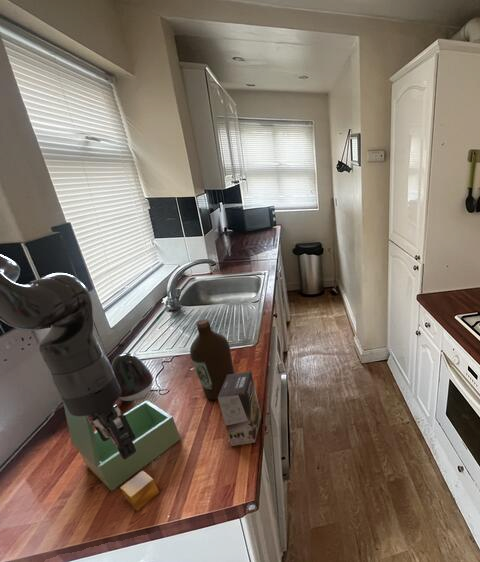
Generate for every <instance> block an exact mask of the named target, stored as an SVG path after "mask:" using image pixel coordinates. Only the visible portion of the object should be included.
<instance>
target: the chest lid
mask: <svg viewBox="0 0 480 562" xmlns="http://www.w3.org/2000/svg"><path fill="white" fill-rule="evenodd" d="M62 405H63V409H64V414H65V418H66V423H67V427H68V432H69V433H68V434H69V436H70V437H69V438H70V442H71V444H72V445H73V446H74V447H75V448H76V449H77V451H78V452H79V451H80V452H81V453H82V454H83V455H84V456H85V457H86V458H87V459H88V460H89V461H90V462H92V463H93V464H94V465H95V466H96V467H97V466H98V465H100V460H99V454H98V449H97V444H96V438H95V433H94V432H95V428H94V427H92V426H91V425H90V423H89V422H88V421H87V420H86V419H87V418H86V417H85V416H73V415H71V414H70V412H69V411H68V409H67V407H66V405H65V403H64V402H63V401H62ZM80 452H79V453H80Z"/></svg>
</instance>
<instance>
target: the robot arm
mask: <svg viewBox="0 0 480 562" xmlns="http://www.w3.org/2000/svg"><path fill="white" fill-rule="evenodd" d="M20 274H21V268H20V266H19V264H18V263H17V262H16V261H14V260H12V259H11V258H9V257H7V256H6V255H5V256H4V255H3V254H0V321H1V322H3V323H4V324H6V325H8V326H10V327H12V328H16V329H19V330H26V331H40V330H43V329H46V328H49V327H50V329H49V331H48V332H47V333H46V334H45V335H44V337H42V339H40V341H39V342H38V345H37V350H38V353H39V354H40V357H41V358H42V360H43V362H44V364H45V366H46V367H47V370H48V371H49V373H50V376H51V379H52V382H53V385H54V387H55V389H56V391H57V392H58V394H59V396H60V398H61V400H62V403H63V402H64V403H65V405H66V407H67V409H68V411H69V412H70V414H71V415H73V416H85V417H86V418H87V419H86V420H87V421H88V422H89V423H90V425H91V426H92V427H93V428H94V429H95V431H97V432H98V434H99V436H100V438H101V440H102V441H107V440H108V439H110V438H111V440H112V441H113V443H114V445H115V446H116V447H117V449H118V451H119V453H120V455H121V457H122V458H123V459H127V458H128V457H130V456H131V455H132V454H134V453H135V452H136V449H135V446H134V444H133V442H132V440H134V439H136V438H135V435H134V434H133V432H132V429H131V427H130V425H129V423H128V421H127V419H126V416H125V415H124V414H125V413H121V409H120V408H119V406H118V405H117V404H115V402H117V400H119V397H120V395H121V388H120V386H119V383H118V381H117V379H116V377H115V374H114V372H113V370H112V368H111V364H110V363H111V362H110V361H109V360H108V358H107V357H106V355H105V354H104V352H103V350H102V348H101V345H100V343H99V341H98V338H97V337H96V335H95V322H94V311H93V302H92V296H91V294H90V291H89V289H88V287H87V286H86V285H85V284H84V282H82V281H81V280H80V279H79V278H77V277H76V276H74V275H71V274H68V273H64V272H55V273H50V274H47V275H44V276H42V277H40V278H37V279H33V280H31V281H30V282H27V283H25V284H19V283H16V282H17V280H18V279H19V277H20ZM114 404H115V405H114ZM124 434H125V435H124ZM122 435H123V436H122ZM121 436H122V437H121Z"/></svg>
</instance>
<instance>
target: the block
mask: <svg viewBox="0 0 480 562" xmlns="http://www.w3.org/2000/svg"><path fill="white" fill-rule="evenodd" d="M120 490H121V492H122V493H123V495H124V498H125V499H126V501H127V502H128V503H129V504H130V505H131V506H132V508H134V509H135V510H136V512H138V511H139V510H140V509H142V508H143V507H144V506H145V505H146V504H148V502H150V501H151V500H152V499H153V498H155V497H156V496H157V495H158V494H159V493H160V491H159V489H158V487H157V484H156V482H155V480H154V478H153V477H152V476H150V475H149V474H148V473H147V472H145V471H144V470H143V469H141V470H140V471H139V472H137V473H136V474H135V475H134V476H132V478H131V479H129V480H128V481H126V482H124V483H123V485H120Z"/></svg>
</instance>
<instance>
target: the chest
mask: <svg viewBox="0 0 480 562" xmlns="http://www.w3.org/2000/svg"><path fill="white" fill-rule="evenodd" d="M123 414H124V415H125V416H126V419H127V421H128V423H129V425H130V427H131V429H132V432H133V434H134V435H135V438H136V439H134V440H132V442H133V444H134V446H135V449H136V452H135V453H134V454H132V455H131V456H130V457H128V458H127V459H123V458H122V457H121V455H120V453H119V451H118V449H117V447H116V446H115V445H114V443H113V441H112V440H111V438H110V439H108V440H107V441H102V440H101V438H100V436H99V434H98V432H97V430H94V433H95V438H96V444H97V449H98V454H99V460H100V465H98V466H97V467H96V466H95V465H94V464H93V463H92V462H90V461H89V460H88V459H87V458H86V457H85V456H84V455H83V454H82V453H81V452H80V451H79V450H78V452H79V454H80V456H81V458H82V460H83V462H84V463H85V464H86V466H87V468H88V469H89V470H90V471H91V472H92V473H93V474H94V475H95V476H96V477H97V478H98V479H99V480H100V481H101V482H102V483H103V484H104V485H105V486H106V487H107V488H108V489H109V490H110V491H111V492H113V491H114V490H116V489H117V488H119V486H122V484H124V483H126V482H127V480H128V479H129V480H130V478H131V477H134V476H135V475H136V474H137V473H139V472H140V471H141V470H143V468H144V467H146V466H147V465H148V464H149V463H151V462H152V461H154V460H155V459H156V458H157V457H159V456H160V455H162V454H163V453H164V452H165V451H167V450H168V449H170V448H171V447H172V446H174V444H177V442H179V441H180V440H181V438H182V437H181V435H180V433H179V430H178V428H177V425H176V421H175V419H174V417H173V416H172V415H170V414H169V413H167V412H166V411H165V410H163V409H161V408H159V407H158V406H157V405H155V404H154V403H152V402H150V401H149V400H144V401H143V402H141V403H140V404H138V405H135V406H134V407H133V408H131V409H130V410H128V411H126V412H125V413H123ZM124 435H125V434H124ZM122 436H123V435H122ZM122 436H121V437H122Z"/></svg>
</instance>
